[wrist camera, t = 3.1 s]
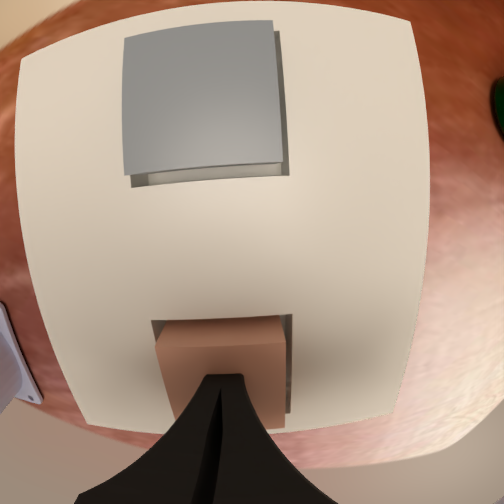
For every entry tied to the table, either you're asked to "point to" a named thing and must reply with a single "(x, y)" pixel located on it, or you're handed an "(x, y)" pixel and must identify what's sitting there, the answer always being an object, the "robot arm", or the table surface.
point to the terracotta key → (226, 360)
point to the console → (233, 217)
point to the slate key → (201, 98)
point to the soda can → (499, 103)
